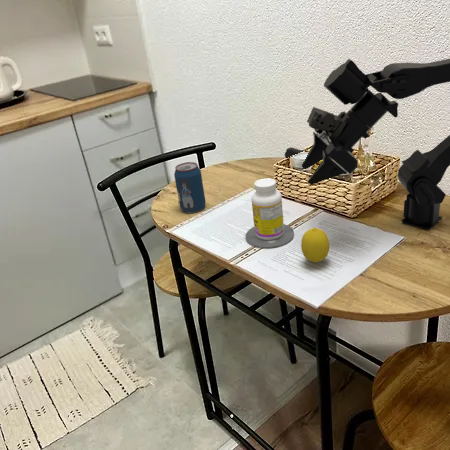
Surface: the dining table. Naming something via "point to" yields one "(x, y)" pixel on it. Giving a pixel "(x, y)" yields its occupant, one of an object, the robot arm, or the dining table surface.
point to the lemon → (315, 245)
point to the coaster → (275, 243)
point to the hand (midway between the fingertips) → (306, 175)
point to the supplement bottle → (267, 210)
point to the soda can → (189, 187)
